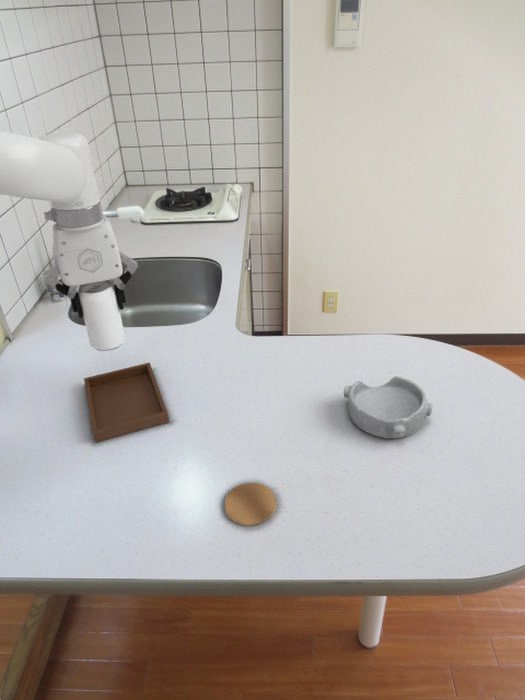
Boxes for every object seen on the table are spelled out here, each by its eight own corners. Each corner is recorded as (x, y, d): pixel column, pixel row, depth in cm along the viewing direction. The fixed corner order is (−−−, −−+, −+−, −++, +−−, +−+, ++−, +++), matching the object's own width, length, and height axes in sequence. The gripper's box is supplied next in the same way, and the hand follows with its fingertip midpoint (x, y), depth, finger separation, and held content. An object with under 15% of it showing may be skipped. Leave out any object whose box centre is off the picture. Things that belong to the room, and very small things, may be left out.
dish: (333, 407, 101) (334, 386, 98) (391, 384, 105) (394, 364, 103) (380, 455, 90) (383, 434, 87) (442, 427, 95) (447, 406, 92)
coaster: (257, 534, 78) (256, 532, 77) (214, 511, 82) (214, 509, 81) (285, 498, 83) (285, 496, 83) (244, 477, 87) (244, 475, 87)
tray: (169, 422, 99) (167, 412, 97) (95, 442, 95) (93, 433, 94) (151, 371, 112) (149, 362, 111) (86, 387, 109) (83, 378, 107)
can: (131, 335, 101) (120, 279, 94) (115, 353, 96) (101, 295, 89) (102, 331, 103) (88, 275, 96) (84, 349, 97) (68, 291, 91)
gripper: (22, 230, 80) (52, 330, 90) (136, 213, 85) (152, 310, 95) (22, 215, 86) (50, 310, 96) (128, 200, 91) (144, 292, 101)
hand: (100, 309), depth 95 cm, fingers closed on can, 6 cm apart
